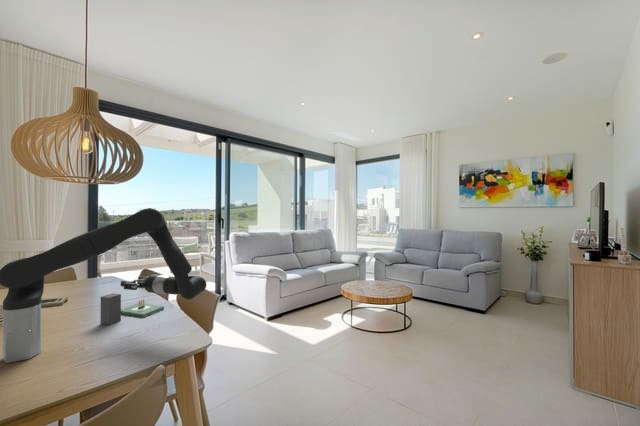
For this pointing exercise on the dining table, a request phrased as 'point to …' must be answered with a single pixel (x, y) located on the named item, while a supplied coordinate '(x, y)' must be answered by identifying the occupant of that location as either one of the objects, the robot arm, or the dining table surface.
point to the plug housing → (110, 309)
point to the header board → (141, 309)
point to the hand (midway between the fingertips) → (130, 281)
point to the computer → (53, 301)
